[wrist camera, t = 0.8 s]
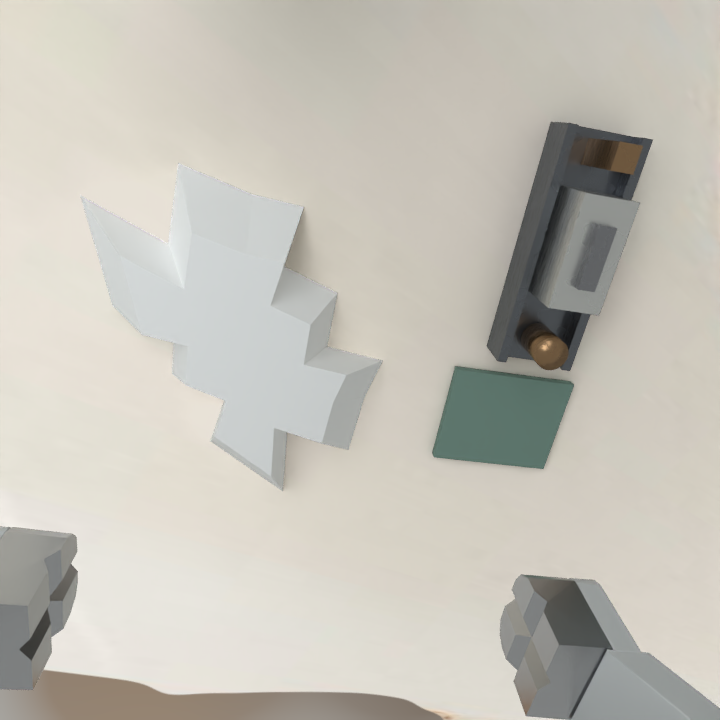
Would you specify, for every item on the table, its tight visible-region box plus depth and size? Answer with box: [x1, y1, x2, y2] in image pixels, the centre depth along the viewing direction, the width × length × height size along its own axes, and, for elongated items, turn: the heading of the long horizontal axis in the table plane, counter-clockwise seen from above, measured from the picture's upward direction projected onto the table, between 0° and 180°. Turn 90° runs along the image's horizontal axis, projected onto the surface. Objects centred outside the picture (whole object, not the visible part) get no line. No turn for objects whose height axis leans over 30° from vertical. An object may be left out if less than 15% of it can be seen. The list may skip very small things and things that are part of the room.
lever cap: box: [528, 185, 640, 315], centre depth 45 cm, size 9×4×6 cm, turn 170°
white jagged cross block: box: [80, 163, 383, 491], centre depth 49 cm, size 35×20×6 cm, turn 26°
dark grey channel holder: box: [487, 122, 653, 371], centre depth 47 cm, size 20×7×7 cm, turn 170°
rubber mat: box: [432, 366, 574, 469], centre depth 56 cm, size 10×12×1 cm
